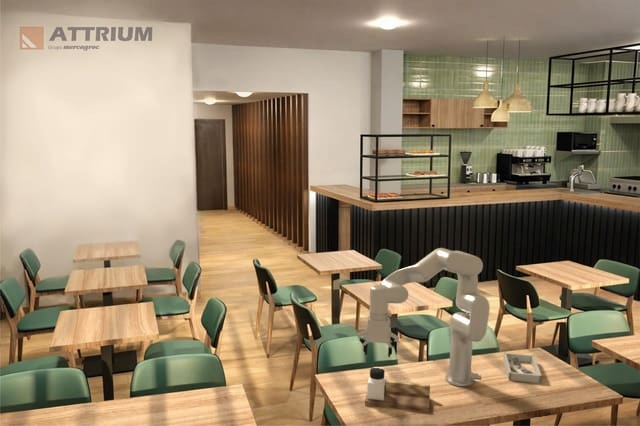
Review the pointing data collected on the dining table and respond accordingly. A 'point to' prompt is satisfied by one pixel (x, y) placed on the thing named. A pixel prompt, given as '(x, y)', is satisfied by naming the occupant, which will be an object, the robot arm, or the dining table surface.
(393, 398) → the board
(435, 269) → the robot arm
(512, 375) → the grey tray
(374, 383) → the medicine bottle
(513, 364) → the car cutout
